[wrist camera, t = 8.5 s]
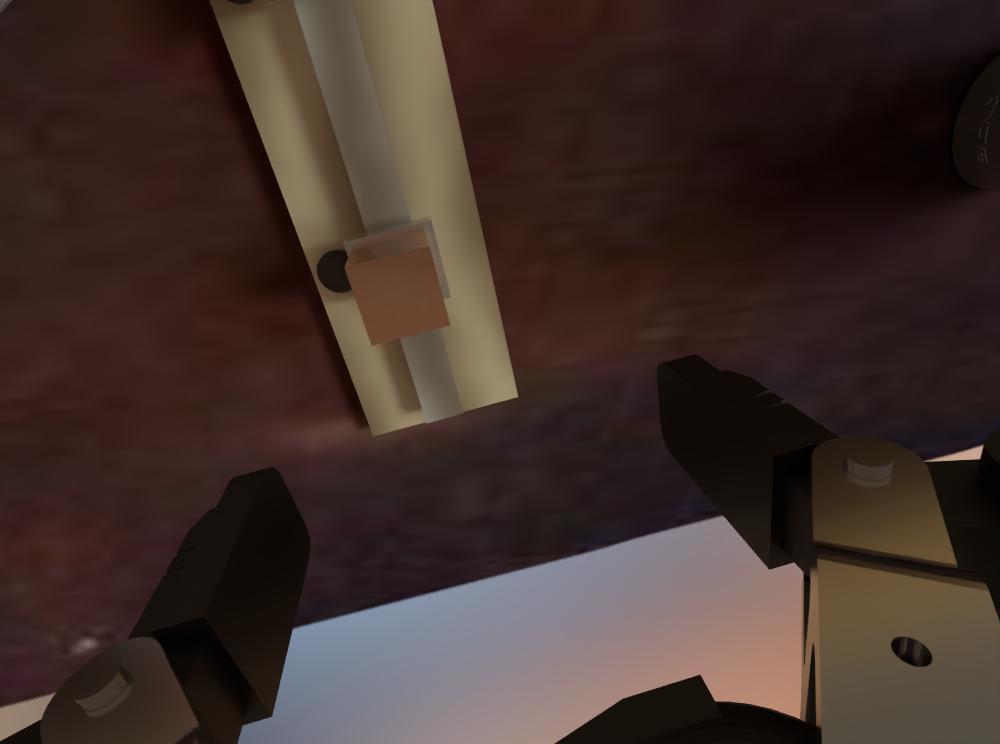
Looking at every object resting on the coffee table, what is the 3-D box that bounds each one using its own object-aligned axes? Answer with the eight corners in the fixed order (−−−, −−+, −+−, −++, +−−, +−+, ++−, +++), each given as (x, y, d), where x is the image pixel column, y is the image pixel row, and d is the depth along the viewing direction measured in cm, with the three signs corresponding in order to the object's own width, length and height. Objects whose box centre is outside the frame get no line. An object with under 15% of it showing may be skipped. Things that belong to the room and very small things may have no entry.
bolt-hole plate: (387, -191, 23) (383, -307, 17) (513, 387, 36) (536, 434, 30) (160, -152, 22) (75, -258, 16) (374, 425, 35) (369, 481, 29)
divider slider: (427, 212, 28) (438, 237, 21) (445, 280, 30) (462, 328, 22) (349, 230, 28) (331, 263, 20) (372, 299, 30) (362, 353, 22)
